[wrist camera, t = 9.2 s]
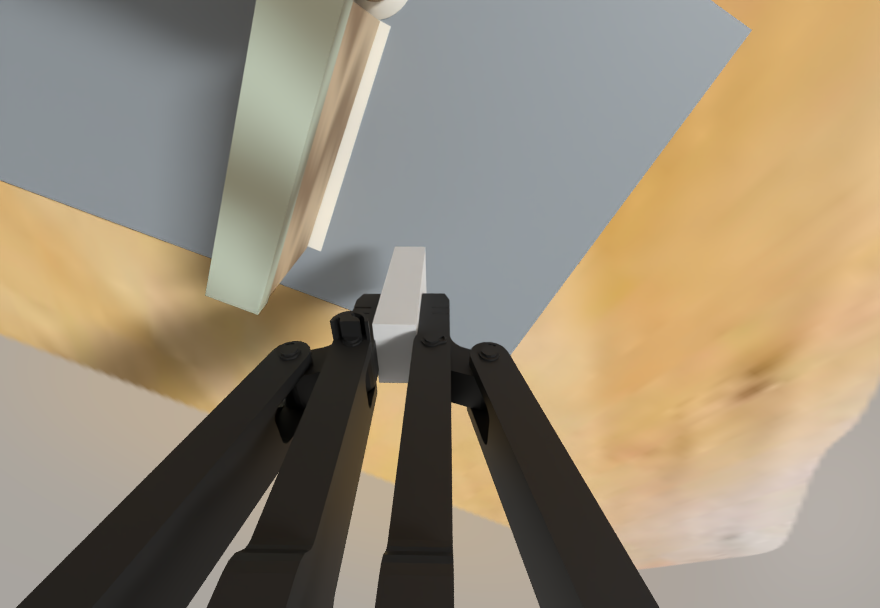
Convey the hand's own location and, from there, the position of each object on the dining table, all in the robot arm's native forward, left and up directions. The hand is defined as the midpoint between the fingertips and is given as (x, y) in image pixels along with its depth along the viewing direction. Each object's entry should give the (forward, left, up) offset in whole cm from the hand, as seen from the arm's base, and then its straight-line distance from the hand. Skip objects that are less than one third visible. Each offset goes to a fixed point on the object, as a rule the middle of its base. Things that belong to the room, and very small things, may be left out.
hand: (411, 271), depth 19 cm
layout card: (-6, +5, -4) cm, 9 cm away
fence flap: (-7, +3, -4) cm, 8 cm away
